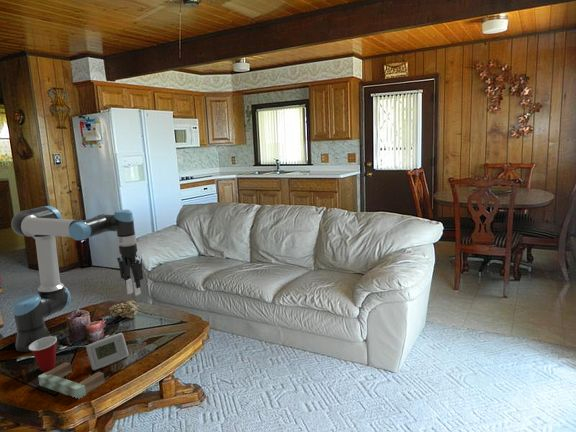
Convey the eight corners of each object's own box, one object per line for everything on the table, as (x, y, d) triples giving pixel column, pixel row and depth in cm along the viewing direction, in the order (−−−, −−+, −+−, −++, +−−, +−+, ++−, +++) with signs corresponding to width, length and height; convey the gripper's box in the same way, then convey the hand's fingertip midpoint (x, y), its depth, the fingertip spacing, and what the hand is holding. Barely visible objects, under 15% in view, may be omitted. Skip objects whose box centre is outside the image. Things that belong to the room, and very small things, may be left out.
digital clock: (91, 372, 183) (87, 349, 181) (87, 364, 191) (83, 341, 189) (131, 360, 192) (127, 337, 190) (126, 352, 199) (123, 330, 197)
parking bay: (39, 385, 176) (37, 376, 175) (66, 370, 186) (65, 361, 186) (79, 399, 165) (77, 389, 164) (105, 382, 175) (104, 373, 174)
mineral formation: (137, 318, 236) (107, 321, 232) (139, 313, 249) (111, 315, 245) (137, 303, 236) (106, 306, 232) (138, 299, 248) (110, 301, 245)
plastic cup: (28, 370, 188) (23, 344, 186) (53, 359, 197) (48, 334, 194) (41, 377, 182) (36, 350, 180) (66, 365, 191) (62, 339, 188)
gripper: (107, 245, 198) (114, 294, 203) (134, 247, 190) (141, 299, 195) (120, 241, 205) (127, 288, 209) (147, 243, 197) (154, 293, 201)
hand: (134, 293), depth 202 cm, fingers open, 4 cm apart
